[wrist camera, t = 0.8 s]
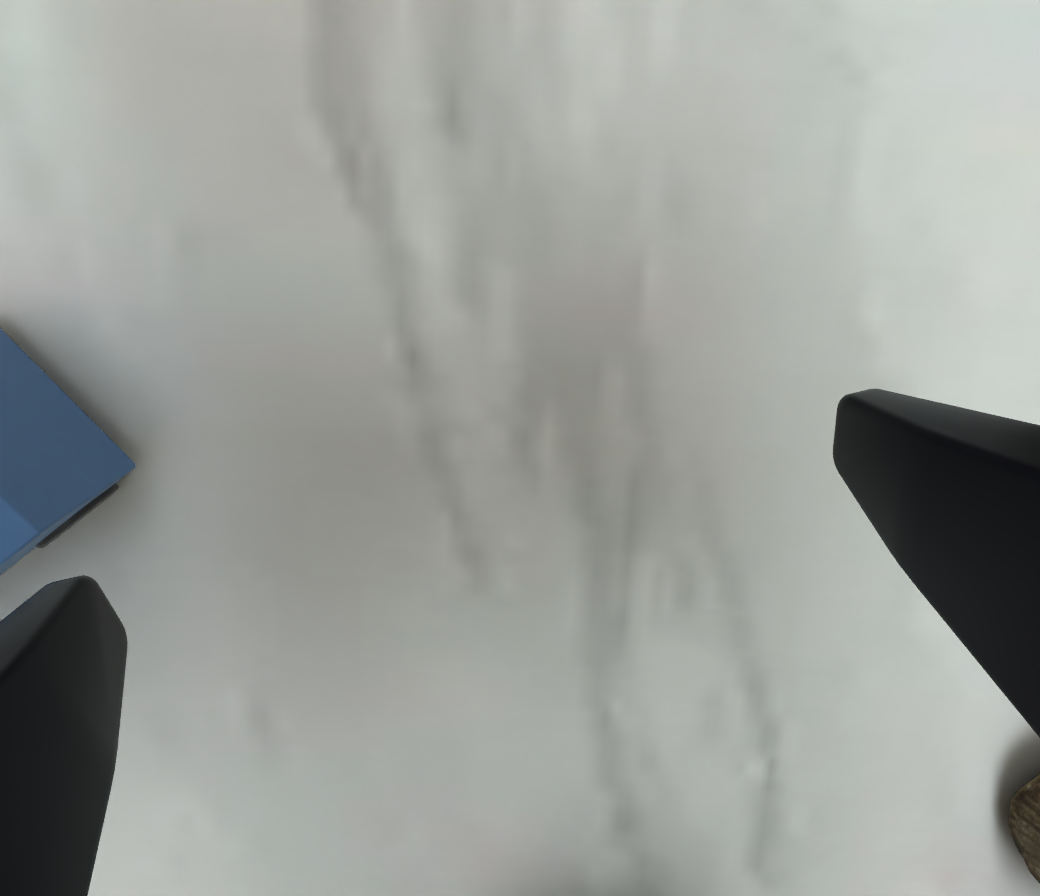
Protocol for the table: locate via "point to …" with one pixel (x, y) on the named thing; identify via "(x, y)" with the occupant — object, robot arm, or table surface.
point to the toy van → (46, 458)
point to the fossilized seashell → (1027, 824)
